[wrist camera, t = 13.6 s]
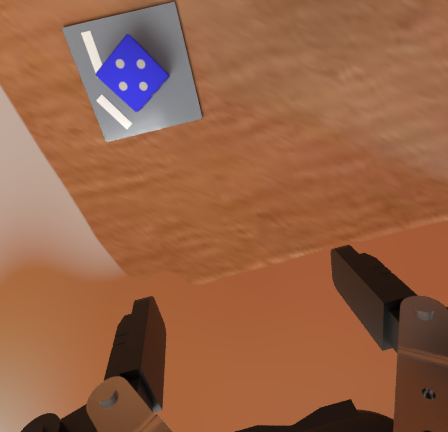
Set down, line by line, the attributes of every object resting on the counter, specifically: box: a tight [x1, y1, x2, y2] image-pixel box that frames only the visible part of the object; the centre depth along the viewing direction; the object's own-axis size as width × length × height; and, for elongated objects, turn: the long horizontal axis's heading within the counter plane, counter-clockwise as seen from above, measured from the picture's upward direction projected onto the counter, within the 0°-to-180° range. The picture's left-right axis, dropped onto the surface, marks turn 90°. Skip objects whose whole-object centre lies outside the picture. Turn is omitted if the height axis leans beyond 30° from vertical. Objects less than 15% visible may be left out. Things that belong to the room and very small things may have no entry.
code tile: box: [62, 2, 203, 142], centre depth 34 cm, size 12×12×1 cm
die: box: [96, 34, 170, 112], centre depth 31 cm, size 5×5×5 cm
